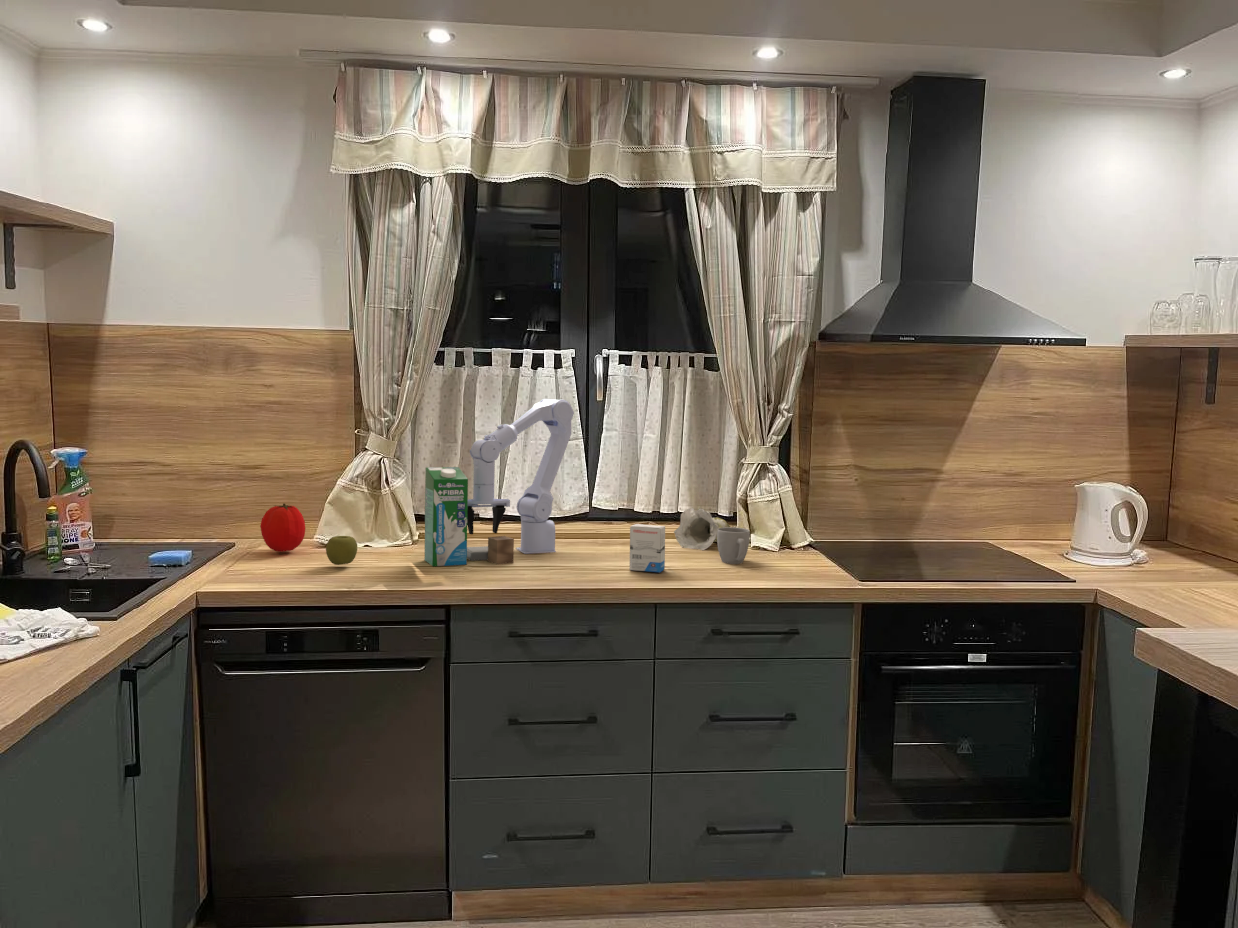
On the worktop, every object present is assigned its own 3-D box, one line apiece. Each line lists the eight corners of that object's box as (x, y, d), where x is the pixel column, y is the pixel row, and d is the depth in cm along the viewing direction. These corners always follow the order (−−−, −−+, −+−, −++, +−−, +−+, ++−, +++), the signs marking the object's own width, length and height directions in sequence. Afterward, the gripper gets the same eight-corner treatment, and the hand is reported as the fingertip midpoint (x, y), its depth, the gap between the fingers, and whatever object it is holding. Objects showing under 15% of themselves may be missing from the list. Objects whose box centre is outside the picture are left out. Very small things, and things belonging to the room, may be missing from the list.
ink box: (665, 569, 244) (666, 525, 243) (659, 573, 240) (661, 528, 239) (634, 566, 247) (635, 522, 246) (628, 570, 243) (629, 525, 242)
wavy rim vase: (704, 558, 267) (726, 561, 283) (721, 517, 266) (743, 522, 282) (669, 542, 272) (693, 545, 288) (686, 501, 271) (709, 507, 287)
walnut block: (504, 559, 252) (504, 535, 251) (513, 562, 248) (513, 538, 247) (487, 561, 249) (488, 537, 249) (496, 564, 245) (497, 540, 245)
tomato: (305, 546, 262) (305, 500, 261) (305, 554, 250) (305, 506, 249) (261, 548, 258) (261, 500, 257) (259, 556, 247) (259, 506, 246)
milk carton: (432, 566, 239) (433, 470, 237) (424, 560, 248) (425, 466, 245) (466, 564, 243) (468, 469, 241) (457, 558, 251) (458, 466, 249)
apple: (345, 568, 234) (345, 540, 234) (319, 565, 237) (319, 537, 237) (363, 563, 242) (363, 535, 241) (337, 560, 244) (337, 533, 244)
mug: (711, 561, 257) (712, 527, 257) (741, 561, 260) (742, 527, 259) (726, 570, 246) (728, 534, 245) (758, 569, 248) (759, 534, 247)
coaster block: (494, 554, 261) (494, 545, 261) (503, 560, 253) (503, 551, 253) (462, 556, 257) (462, 546, 257) (470, 562, 249) (470, 552, 249)
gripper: (505, 482, 260) (504, 530, 261) (454, 482, 254) (453, 531, 255) (512, 484, 253) (511, 533, 255) (460, 485, 248) (459, 536, 249)
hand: (483, 533), depth 254 cm, fingers open, 6 cm apart
